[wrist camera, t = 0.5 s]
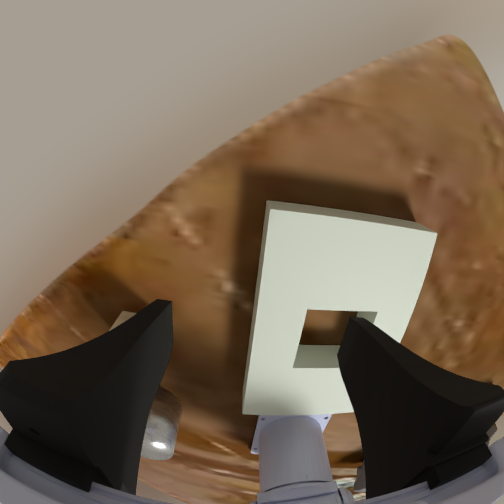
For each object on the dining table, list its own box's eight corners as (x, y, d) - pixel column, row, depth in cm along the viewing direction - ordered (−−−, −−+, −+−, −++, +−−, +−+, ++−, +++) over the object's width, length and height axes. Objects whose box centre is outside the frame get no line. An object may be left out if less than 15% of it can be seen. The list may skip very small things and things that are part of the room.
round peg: (184, 421, 27) (176, 464, 21) (136, 412, 27) (123, 452, 21) (180, 390, 25) (170, 437, 19) (127, 380, 25) (109, 423, 19)
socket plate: (357, 390, 25) (365, 410, 23) (242, 390, 25) (242, 414, 22) (416, 222, 19) (437, 233, 16) (266, 200, 19) (270, 209, 16)
